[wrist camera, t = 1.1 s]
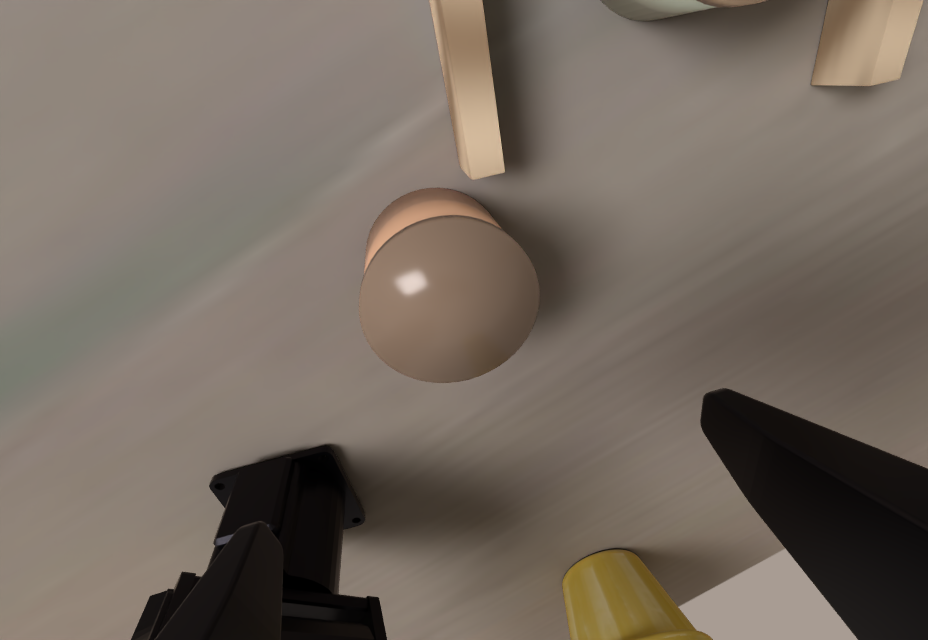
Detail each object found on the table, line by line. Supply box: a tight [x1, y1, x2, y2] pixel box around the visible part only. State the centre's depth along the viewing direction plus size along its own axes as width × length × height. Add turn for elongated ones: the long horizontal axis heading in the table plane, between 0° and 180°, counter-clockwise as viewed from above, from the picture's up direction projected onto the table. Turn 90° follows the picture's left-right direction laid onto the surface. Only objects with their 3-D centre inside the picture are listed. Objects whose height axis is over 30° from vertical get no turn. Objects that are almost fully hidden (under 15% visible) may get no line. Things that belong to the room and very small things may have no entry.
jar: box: [359, 188, 540, 383], centre depth 17 cm, size 6×6×5 cm
